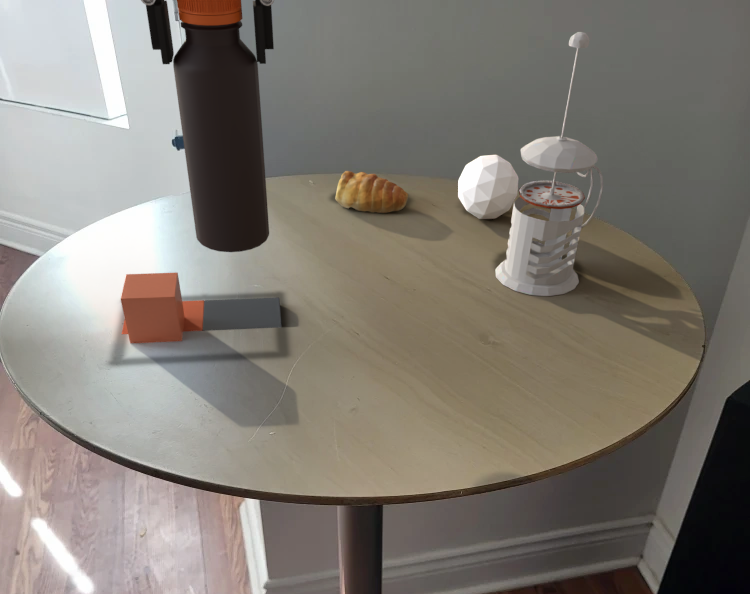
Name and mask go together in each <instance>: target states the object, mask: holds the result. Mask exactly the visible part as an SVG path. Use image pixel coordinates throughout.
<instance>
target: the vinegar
mask: <svg viewBox="0 0 750 594" xmlns="http://www.w3.org/2000/svg"><path fill="white" fill-rule="evenodd" d="M176 7H177V12H178V20H179V21H180V28H182V29H184V33H185V40H184V41H183V43H182V44H181V46H180V48H179V49H178V50H177V51H176V53H175V55H173V60H172V66H173V73H174V81H175V88H176V96H177V102H178V111H179V116H180V118H179V119H180V125H181V126H180V127H181V132H182V133H181V135H182V141H183V148H184V155H185V156H184V157H185V162H186V170H187V177H188V185H189V192H190V200H191V206H192V214H193V223H194V229H195V236H196V237H195V238H196V240H197V242H199V243H200V245H201V246H203V247H205V248H207V249H209V250H212V251H215V252H220V253H221V252H222V253H239V252H246V251H251V250H254V249H256V248H258V247H260V246H262V245H264V243H265V242H266V241H267V240H268V238H269V236H270V224H269V223H270V222H269V210H268V209H269V208H268V194H267V180H266V166H265V165H266V164H265V153H264V152H265V151H264V150H265V149H264V137H263V123H262V122H263V121H262V106H261V94H260V93H261V91H260V77H259V64H258V62H257V56H256V55H255V54H254V52H253V51H251V49H250V48H249V47H248V46H247V45H246V43H245V42H244V41H242V39H241V34H240V29H241V28H242V27H243V21H242V20H243V9H242V7H243V6H242V0H176Z"/></svg>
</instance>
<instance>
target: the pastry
mask: <svg viewBox="0 0 750 594" xmlns="http://www.w3.org/2000/svg"><path fill="white" fill-rule="evenodd" d="M408 197H409V194H408V192H407V191H405V190H404V188H402V187H400V186H398V185H397V184H396V183H394V182H392V181H389V180H388V179H387V178H383V177H379V176H378V175H377V174H376V173H369V174H368V173H366V172H364V171H360V172H357V173H355V172H353V171H351V170H345V171H344V172H343V173H342V174H341V177H340V179H339V180H338V183H337V187H336V193H335V197H334V199H335V201H336V202H337V203H338V204H340V205H341V207H343V208H345V209H349V208H353V209H355V210H356V211H360V212H370V213H372V214H374V213H377V214H380V213H381V214H387V213H391V212H399V211H401V210H402V209H404V208H405V206H406V205H407V201H408Z"/></svg>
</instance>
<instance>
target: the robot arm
mask: <svg viewBox="0 0 750 594" xmlns="http://www.w3.org/2000/svg"><path fill="white" fill-rule="evenodd" d="M140 1H141V2H142V4H144V5H145V8H146V9H145V10H146V15H147V23H148V28H149V35H150V42H151V49H152V50H153V51H154V50H155V51H160V55H161V61H162V62H161V63H162V65H171V63H173V59H174V56H175V55H174V54H175V52H174V44H173V37H172V30H171V29H172V27H171V22H170V15H169V6H168V1H167V0H140ZM274 3H275V0H252V10H253V23H254V24H253V25H254V26H253V27H254V38H255V54H256V55H255V56H256V60H257V63H259V65H266V64H267V58H266V57H267V56H266V50H274V49H275V48H274V47H275V46H274V30H273V12H272V11H273V10H272V5H273V4H274Z"/></svg>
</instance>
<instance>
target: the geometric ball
mask: <svg viewBox="0 0 750 594" xmlns="http://www.w3.org/2000/svg"><path fill="white" fill-rule="evenodd" d="M457 181H458V183H457V186H458V187H457V188H458V189H457V191H458V192H457V198H458V199H459V201H460V203H461V204H462V206H463V207H464V209H465V210H466V212H467V213H469V214H470V215H473V216H474V217H476V218H477V219H478V220H492V219H493V220H494V219H498V217H500V216H501V215H504V214H505V213H507V212H509V211H510V210H511V208H512V207H513V205H514V202H515V201H516V199H517V196H518V194H519V176H518V174H517V172H516V171H515V168H514V167H513V165H512V164H511V162H509V161H508V160H506V159H504V158H503V157H501V156H500V155H498V154H489V155H480V156H478V157H476V158H475V159H473V160H472V161H470V162H468V163H467V164H465V166H464V168H463V170H462V172H461V174H460V176H459V178H458V180H457Z"/></svg>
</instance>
